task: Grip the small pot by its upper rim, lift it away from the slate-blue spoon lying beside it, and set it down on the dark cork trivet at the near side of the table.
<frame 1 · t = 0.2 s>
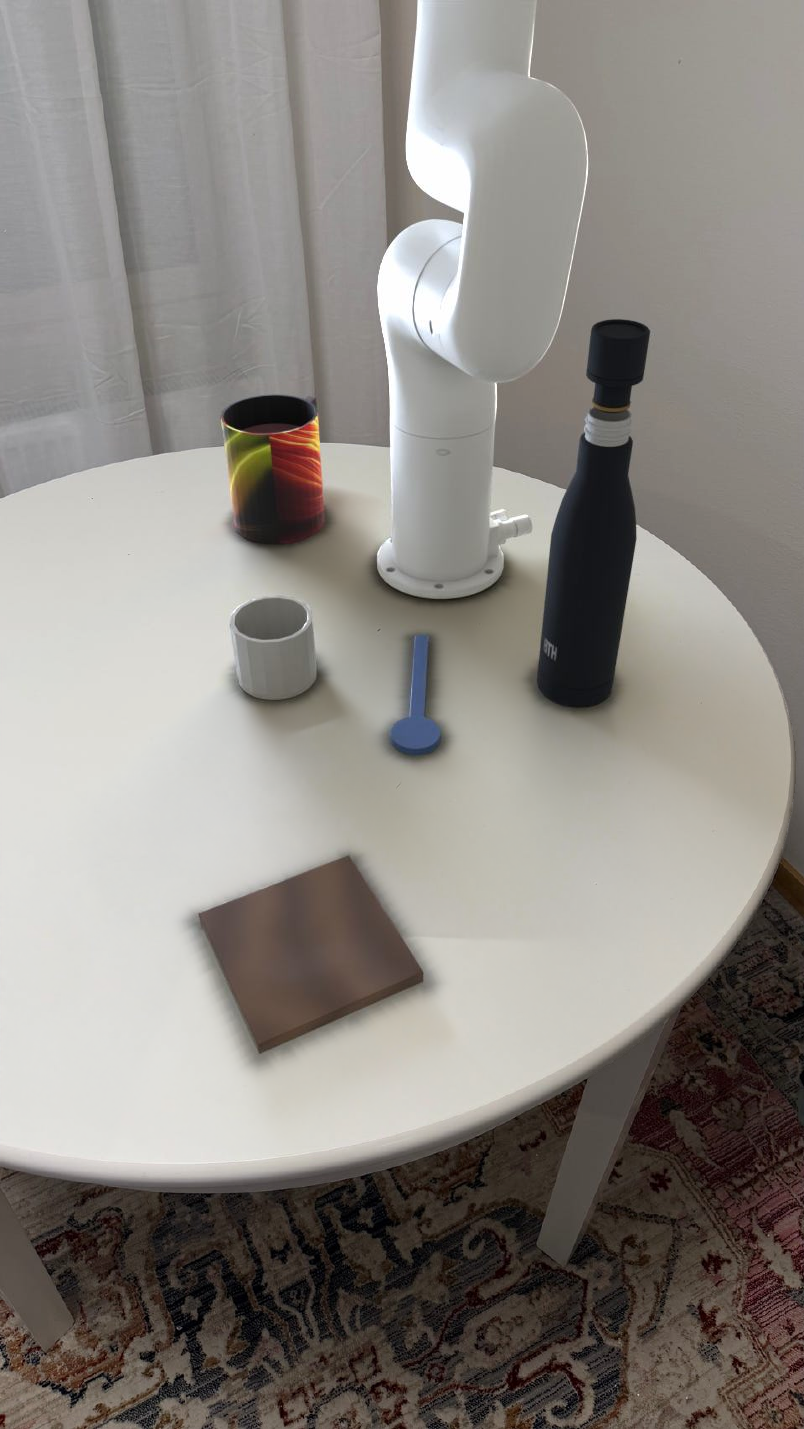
trivet: (308, 950, 65), on the table
insulated water bottle: (574, 685, 86), on the table
pot: (277, 675, 87), on the table
spoon: (417, 703, 84), on the table
mug: (279, 513, 109), on the table
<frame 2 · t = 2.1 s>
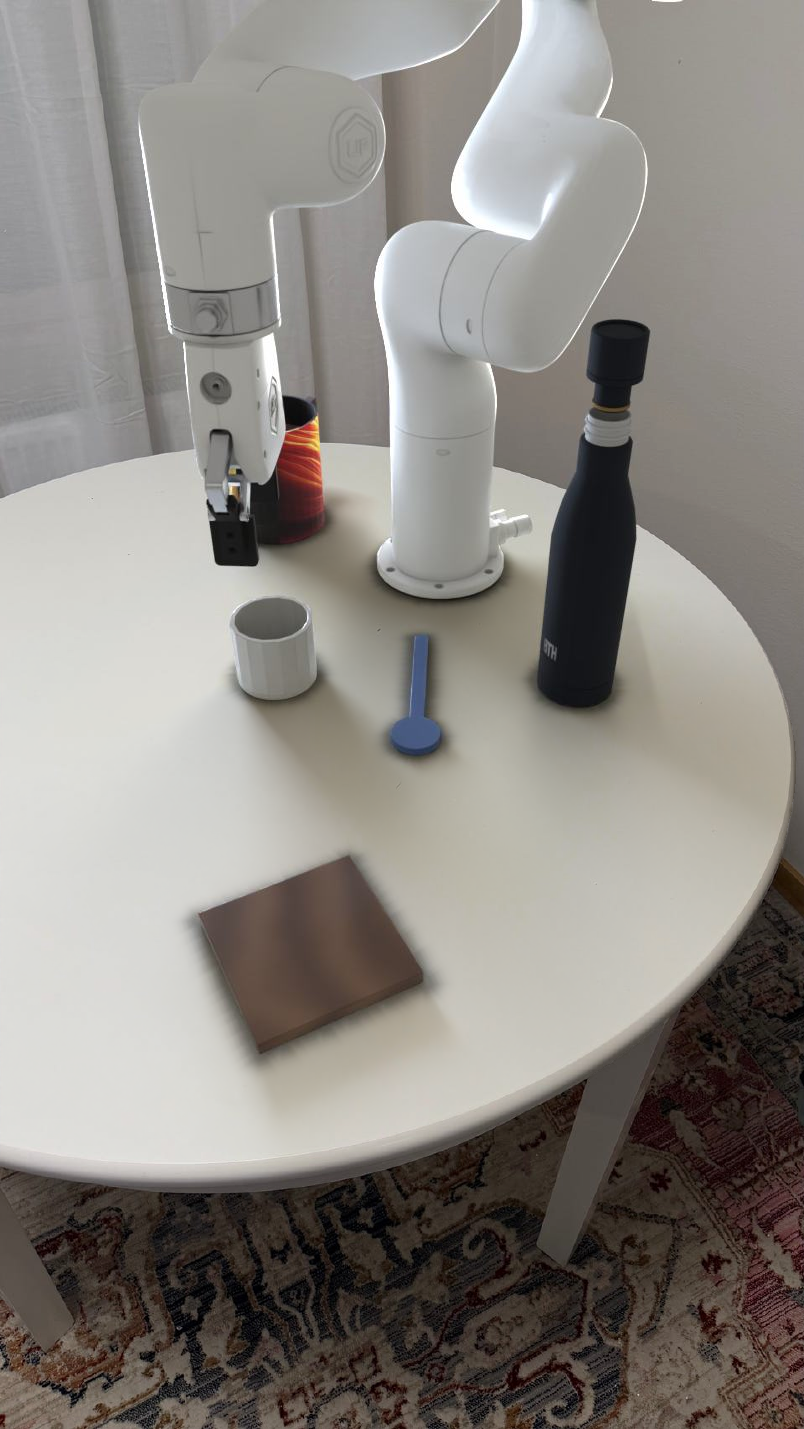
hand: (249, 531, 78), 14 cm above the table, tool pointing down, fingers open, 9 cm apart
nothing on the table moved.
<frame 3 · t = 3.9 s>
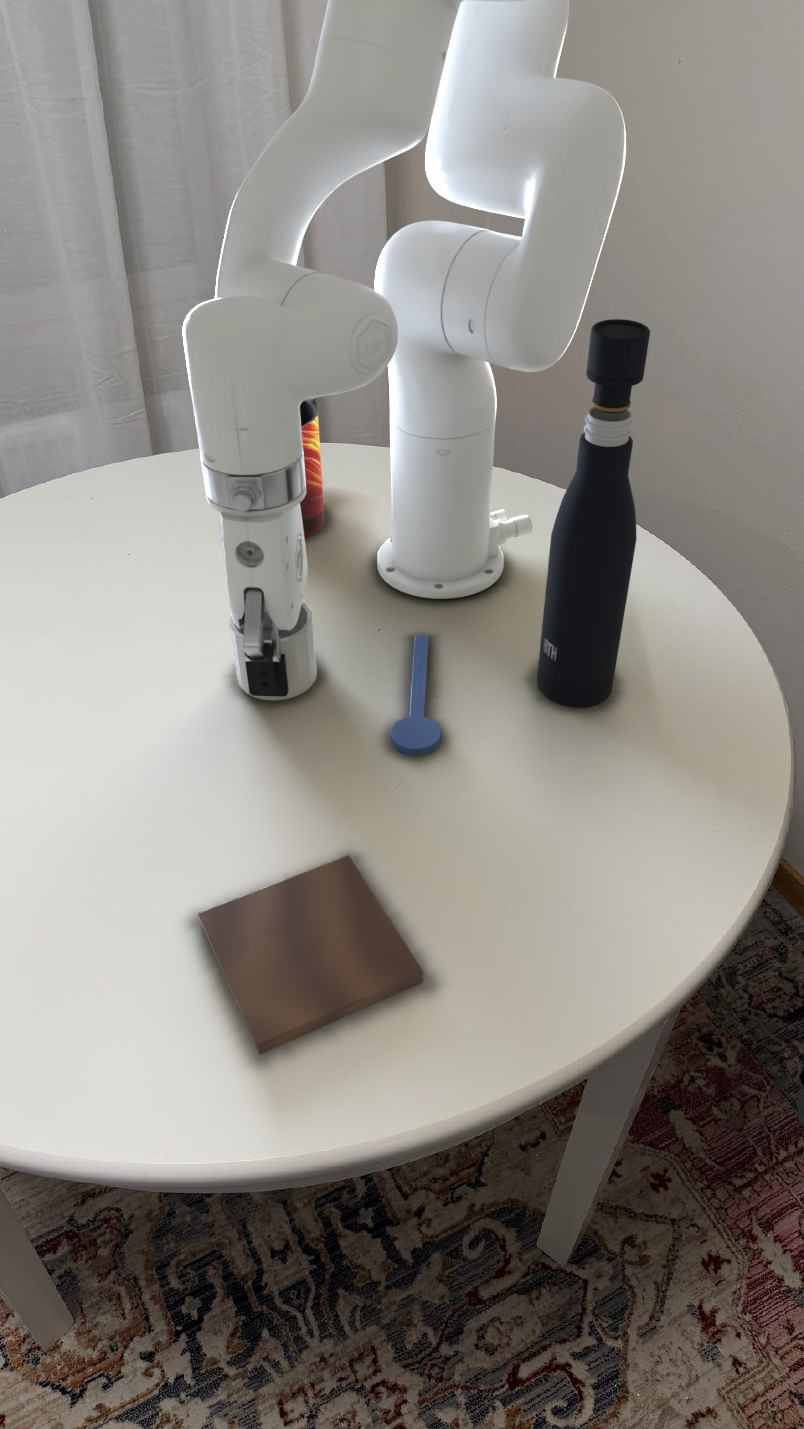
hand: (276, 664, 86), 1 cm above the table, tool pointing down, fingers closed on pot, 7 cm apart
pot: (277, 675, 87), on the table, touching gripper
everything else where it was.
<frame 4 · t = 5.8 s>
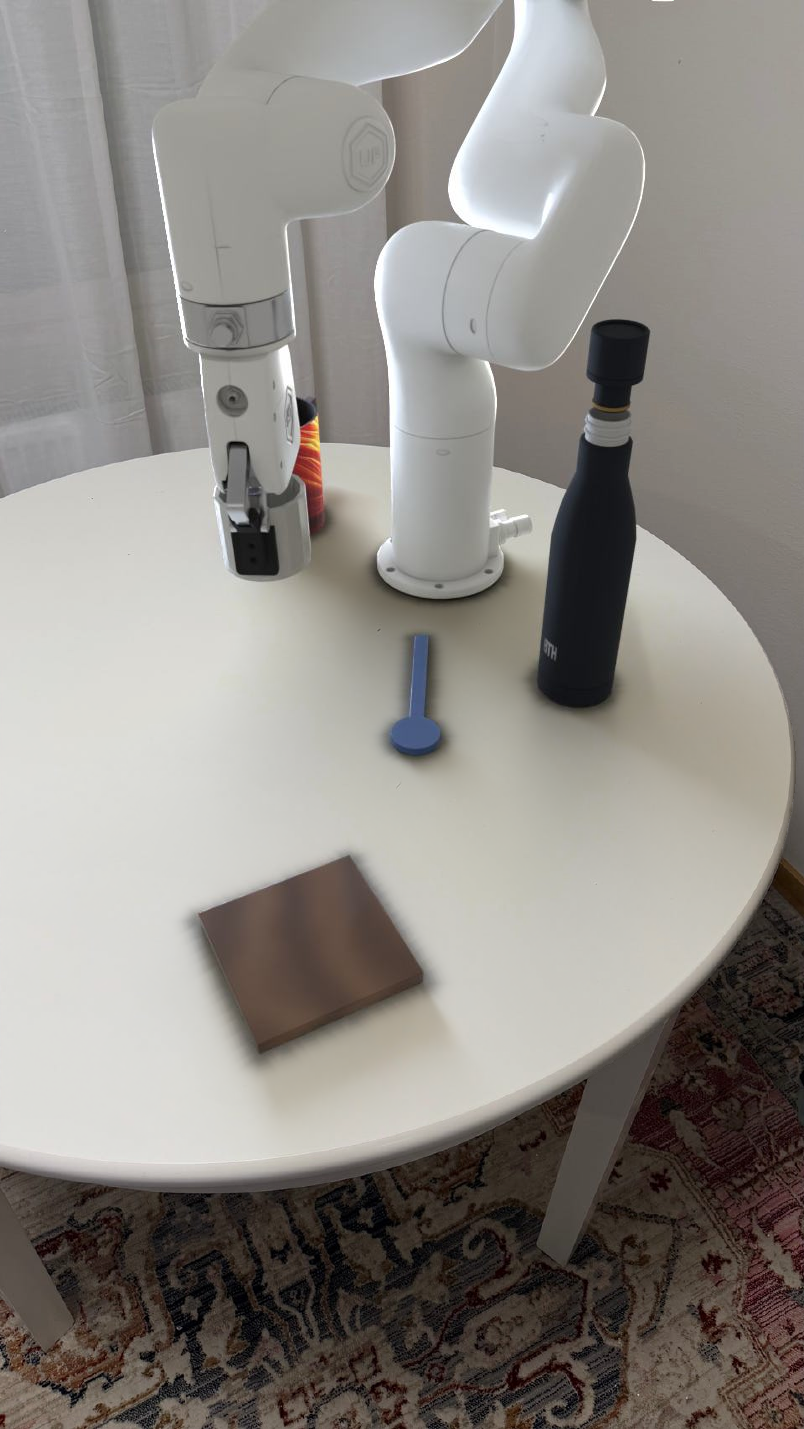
hand: (266, 544, 79), 13 cm above the table, tool pointing down, fingers closed on pot, 7 cm apart
pot: (268, 558, 79), point 12 cm above the table, touching gripper
everything else where it was.
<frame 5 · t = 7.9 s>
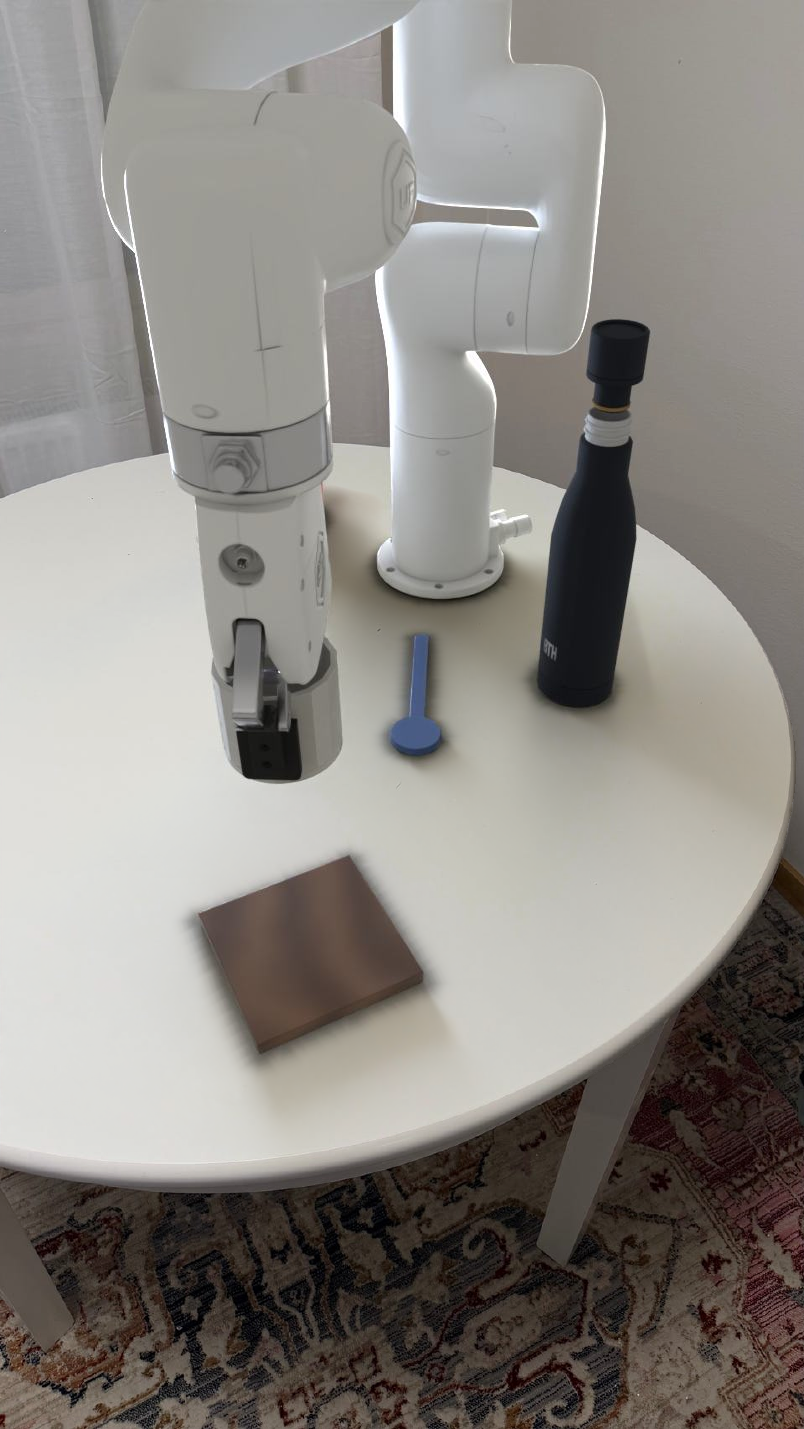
hand: (283, 728, 58), 16 cm above the table, tool pointing down, fingers closed on pot, 7 cm apart
pot: (284, 743, 58), point 15 cm above the table, touching gripper
everything else where it was.
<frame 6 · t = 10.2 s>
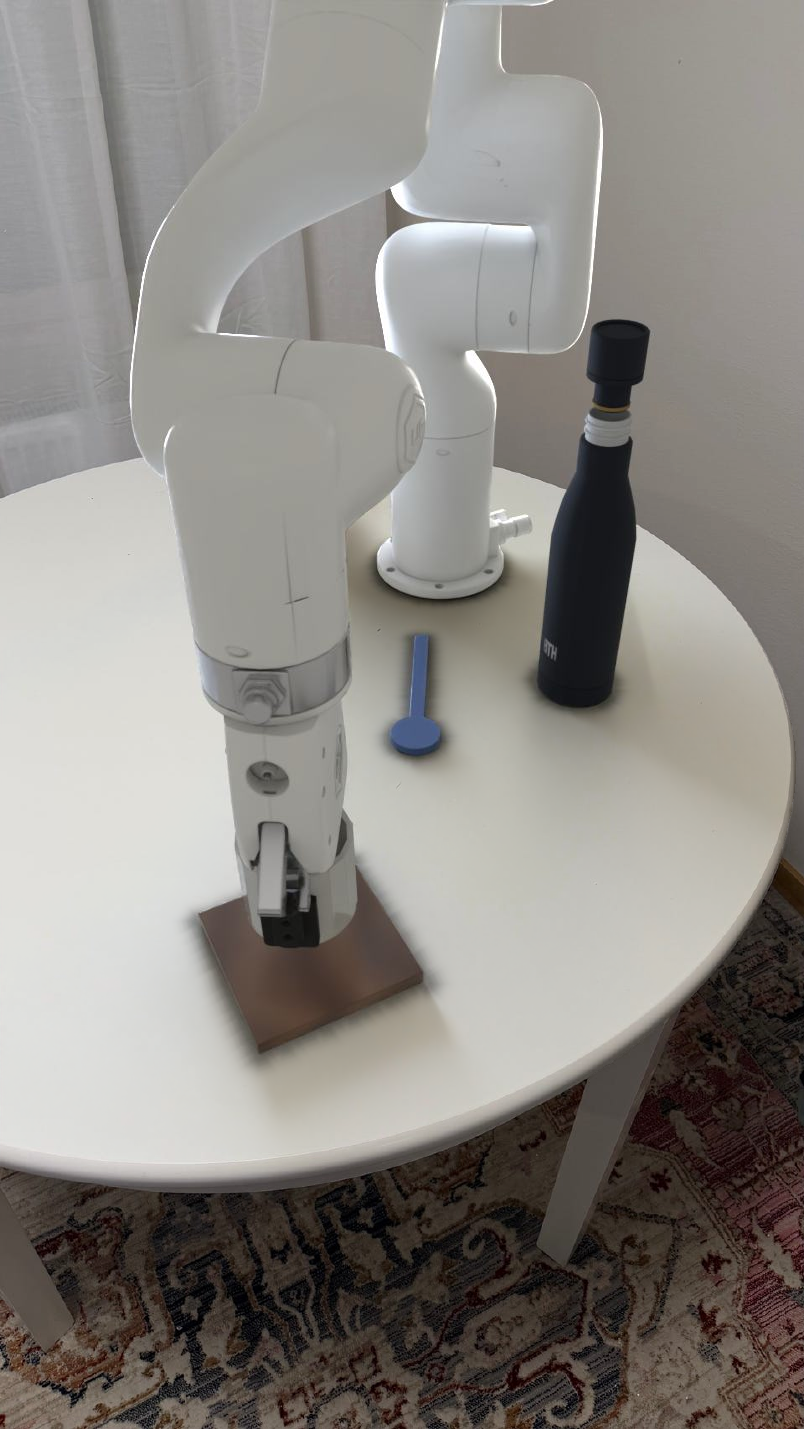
hand: (301, 889, 61), 6 cm above the table, tool pointing down, fingers closed on pot, 7 cm apart
pot: (301, 902, 62), point 5 cm above the table, touching gripper
everything else where it was.
when the fingers open (2 cm above the table, at t = 11.8 s): pot stays where it is, resting on trivet.
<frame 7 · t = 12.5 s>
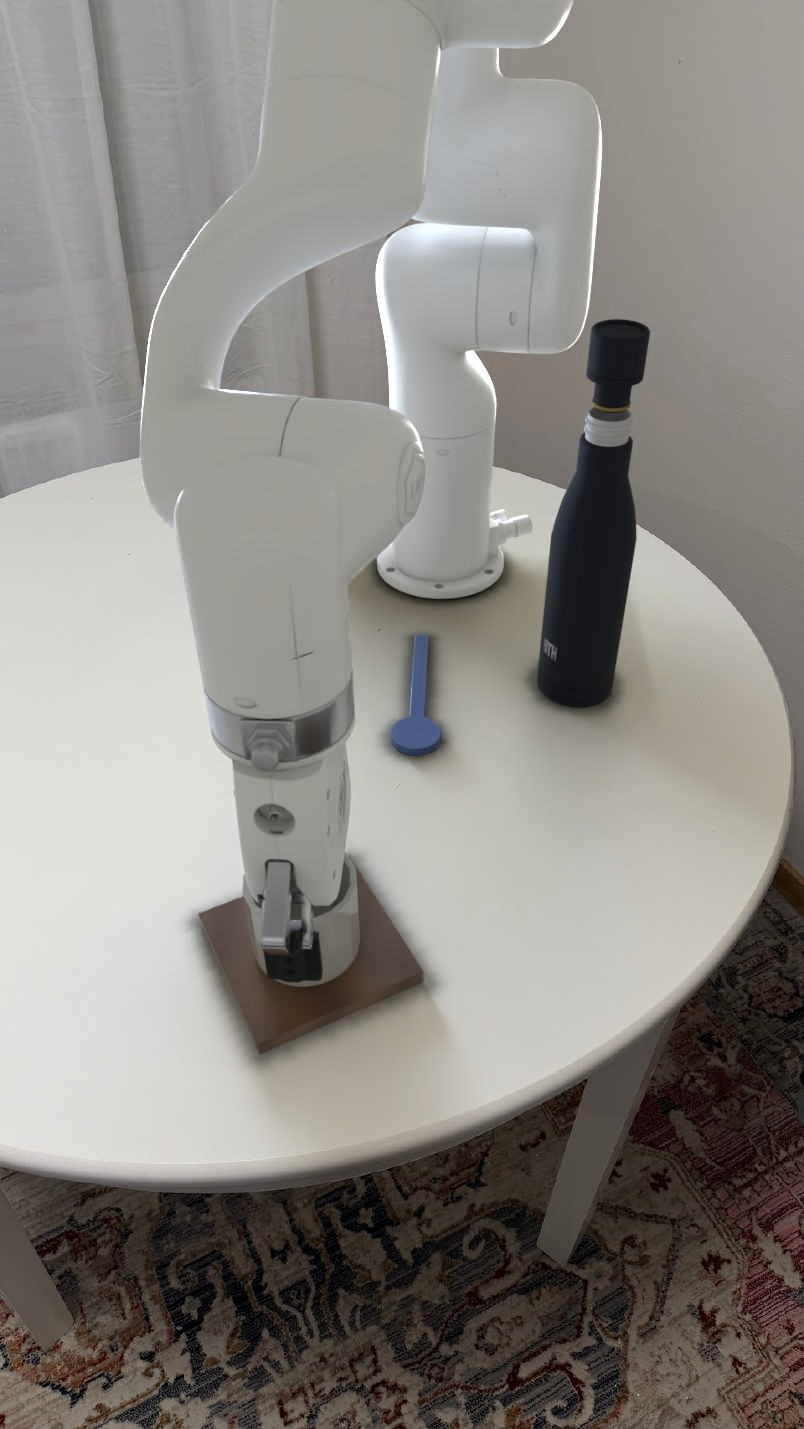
hand: (305, 909, 63), 4 cm above the table, tool pointing down, fingers open, 9 cm apart
pot: (306, 941, 64), point 1 cm above the table, touching trivet
everything else where it was.
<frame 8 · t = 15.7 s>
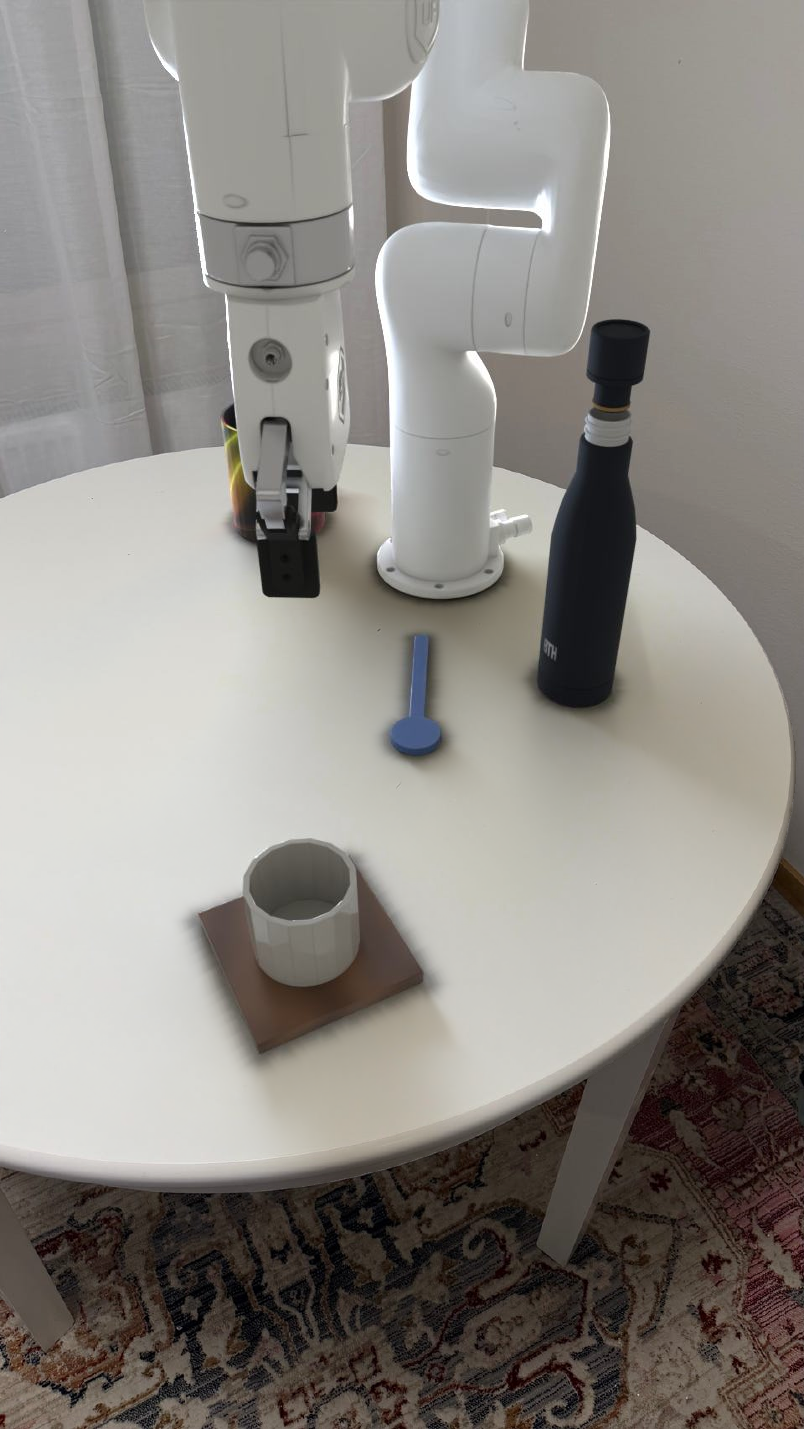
hand: (303, 549, 60), 22 cm above the table, tool pointing down, fingers open, 9 cm apart
nothing on the table moved.
at the end: pot 0.1 cm off-centre on the trivet, point 1.0 cm above the trivet's base; pot tilted 0°; spoon moved 0.0 cm from its start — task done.
